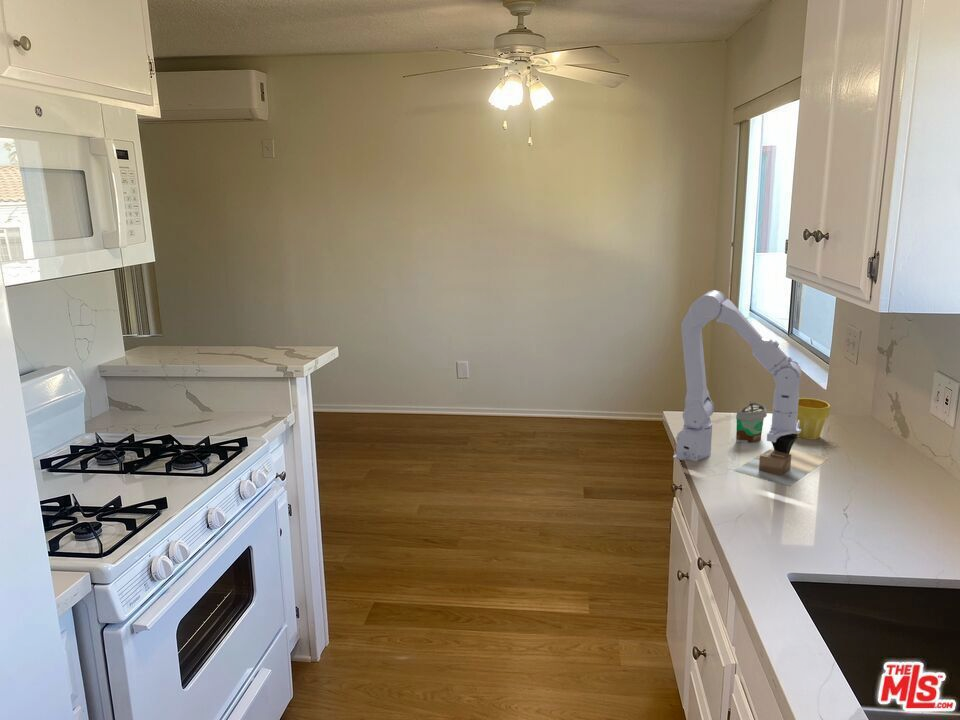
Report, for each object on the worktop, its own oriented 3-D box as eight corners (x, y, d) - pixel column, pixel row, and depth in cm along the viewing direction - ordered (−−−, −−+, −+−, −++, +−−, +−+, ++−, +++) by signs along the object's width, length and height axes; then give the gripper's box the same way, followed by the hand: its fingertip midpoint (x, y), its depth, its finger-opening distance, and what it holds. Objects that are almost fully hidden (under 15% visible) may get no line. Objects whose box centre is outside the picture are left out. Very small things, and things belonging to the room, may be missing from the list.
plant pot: (829, 432, 207) (832, 400, 205) (824, 444, 199) (827, 410, 196) (791, 427, 213) (793, 395, 210) (784, 438, 204) (787, 405, 202)
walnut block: (780, 476, 176) (781, 460, 175) (758, 470, 180) (759, 454, 179) (790, 469, 179) (791, 454, 178) (768, 464, 183) (769, 448, 182)
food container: (757, 450, 195) (759, 415, 193) (734, 446, 199) (736, 411, 196) (770, 437, 205) (772, 404, 202) (748, 433, 208) (750, 400, 206)
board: (789, 490, 170) (789, 486, 170) (733, 474, 180) (733, 470, 180) (829, 461, 186) (829, 458, 186) (775, 448, 196) (776, 445, 196)
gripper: (788, 420, 171) (784, 473, 175) (813, 406, 181) (809, 457, 184) (760, 414, 176) (756, 466, 180) (785, 401, 186) (781, 450, 189)
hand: (781, 461), depth 182 cm, fingers closed
